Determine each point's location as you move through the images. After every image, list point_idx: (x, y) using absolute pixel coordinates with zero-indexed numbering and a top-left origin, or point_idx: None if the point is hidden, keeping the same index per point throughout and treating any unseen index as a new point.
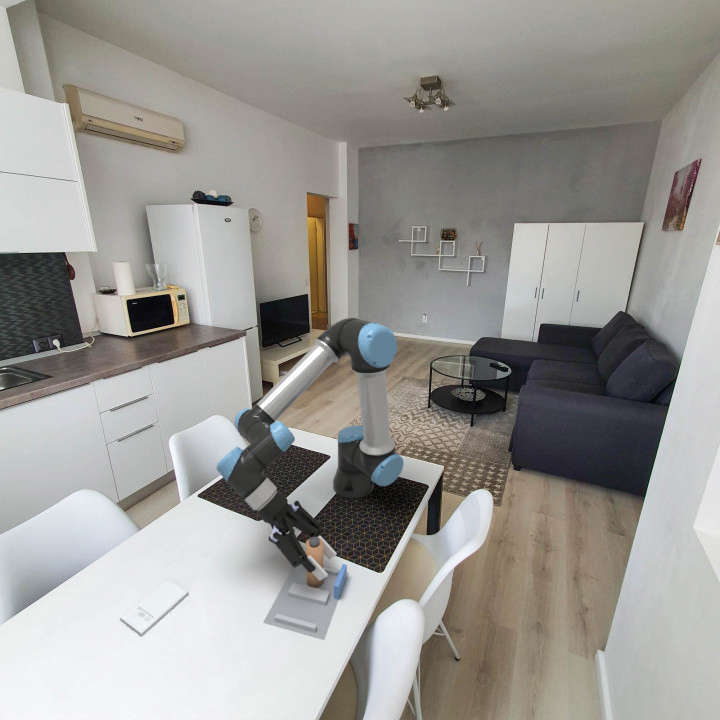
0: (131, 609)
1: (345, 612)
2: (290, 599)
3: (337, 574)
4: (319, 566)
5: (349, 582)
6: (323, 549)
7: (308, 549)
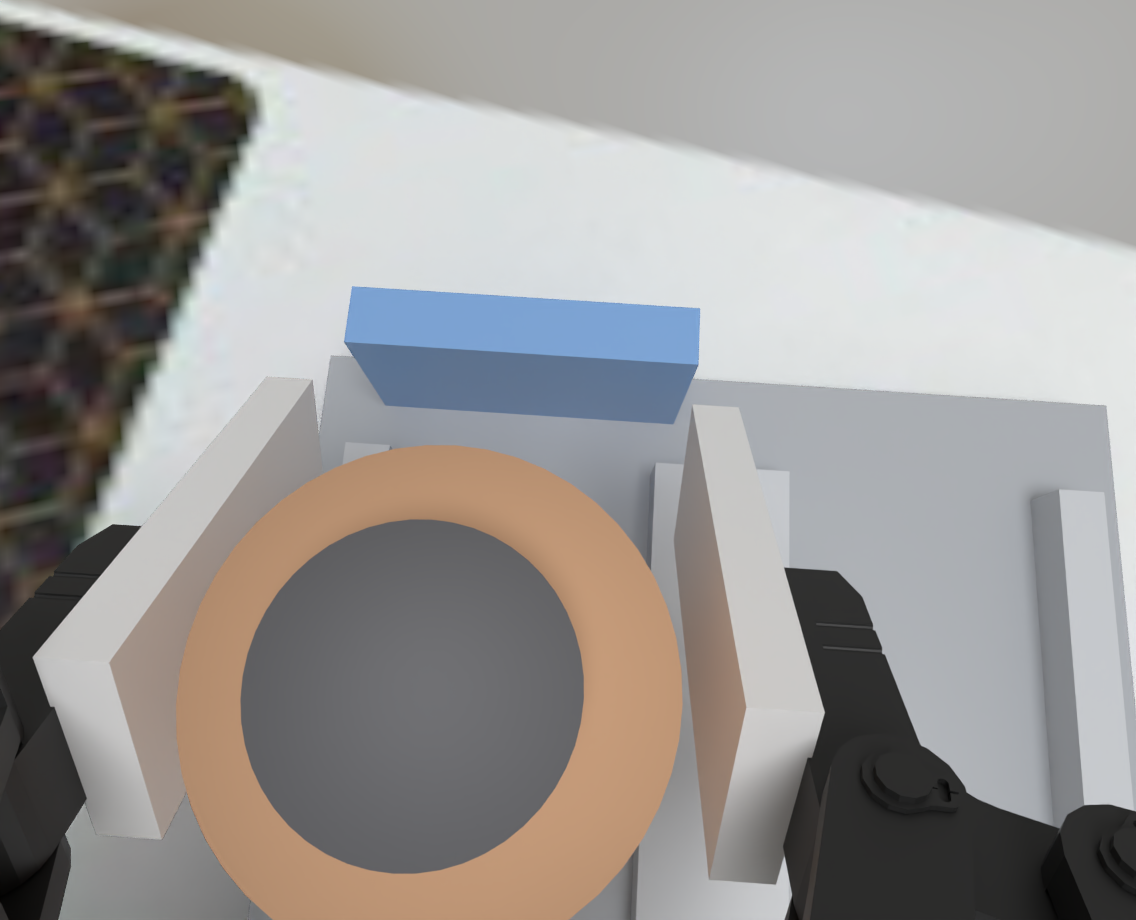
0: None
1: (743, 314)
2: None
3: None
4: (735, 502)
5: None
6: None
7: (661, 793)
